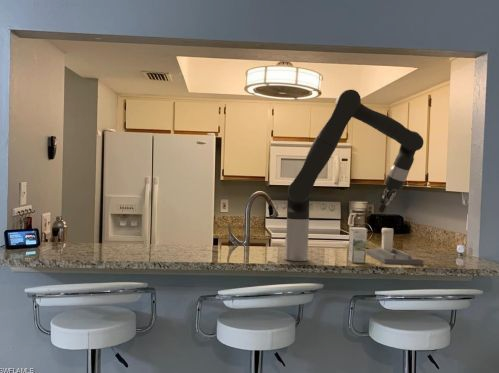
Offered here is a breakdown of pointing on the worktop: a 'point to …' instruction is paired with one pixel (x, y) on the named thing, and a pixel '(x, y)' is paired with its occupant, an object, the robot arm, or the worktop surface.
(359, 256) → the syrup box
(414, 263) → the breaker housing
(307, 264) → the worktop surface
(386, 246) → the handle
